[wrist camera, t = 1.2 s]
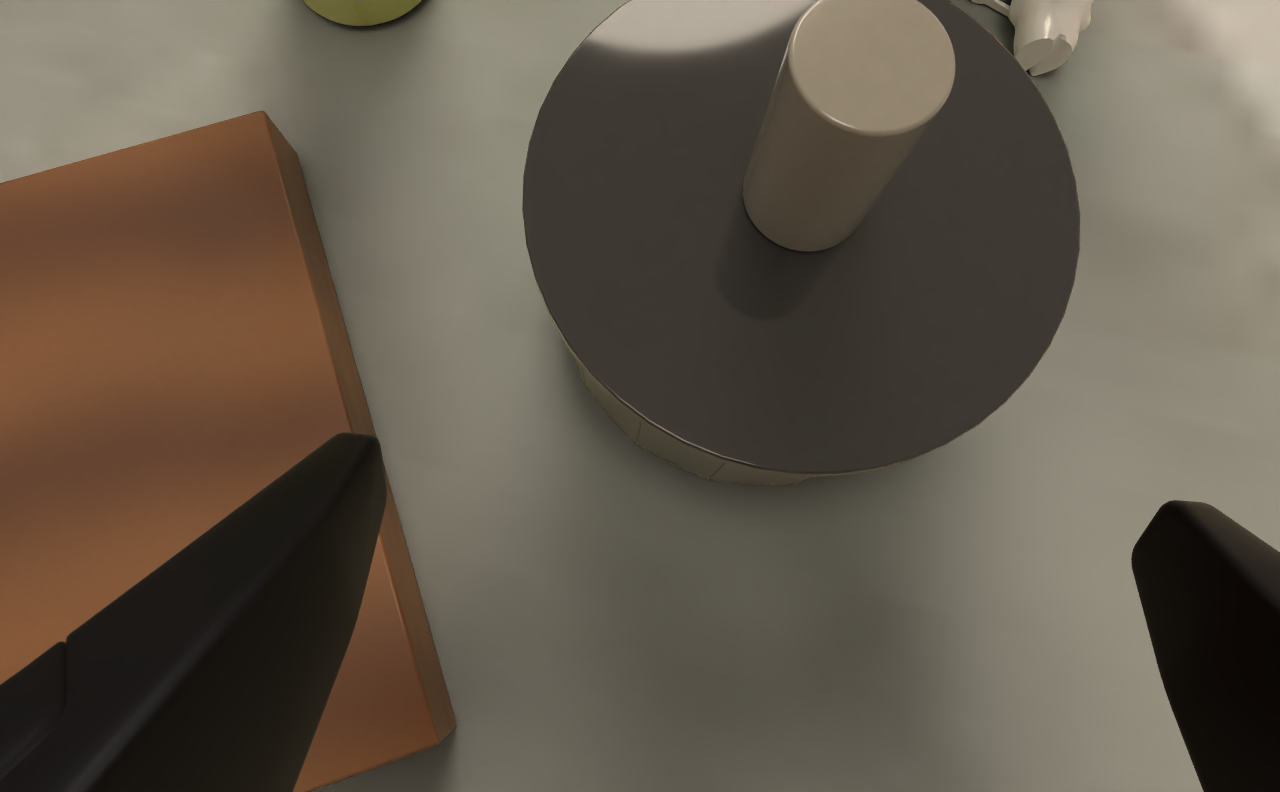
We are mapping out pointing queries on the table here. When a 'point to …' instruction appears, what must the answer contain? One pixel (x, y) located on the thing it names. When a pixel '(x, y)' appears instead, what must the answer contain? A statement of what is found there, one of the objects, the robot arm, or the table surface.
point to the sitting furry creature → (1044, 30)
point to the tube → (361, 10)
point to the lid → (801, 225)
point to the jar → (675, 452)
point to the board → (185, 404)
